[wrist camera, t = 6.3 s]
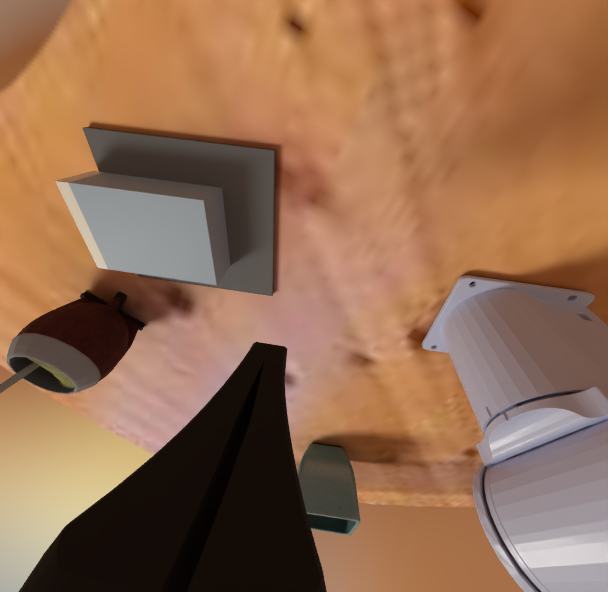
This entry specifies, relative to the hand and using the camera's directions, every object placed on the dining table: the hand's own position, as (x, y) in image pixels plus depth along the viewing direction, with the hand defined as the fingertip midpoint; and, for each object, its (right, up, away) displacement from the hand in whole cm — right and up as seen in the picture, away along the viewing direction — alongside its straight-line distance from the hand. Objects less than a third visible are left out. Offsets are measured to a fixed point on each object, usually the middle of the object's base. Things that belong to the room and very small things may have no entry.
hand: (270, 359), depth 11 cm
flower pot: (+5, -22, +30) cm, 37 cm away
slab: (-4, +7, +6) cm, 10 cm away
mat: (-7, +8, +8) cm, 13 cm away
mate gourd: (-19, +1, +15) cm, 24 cm away
